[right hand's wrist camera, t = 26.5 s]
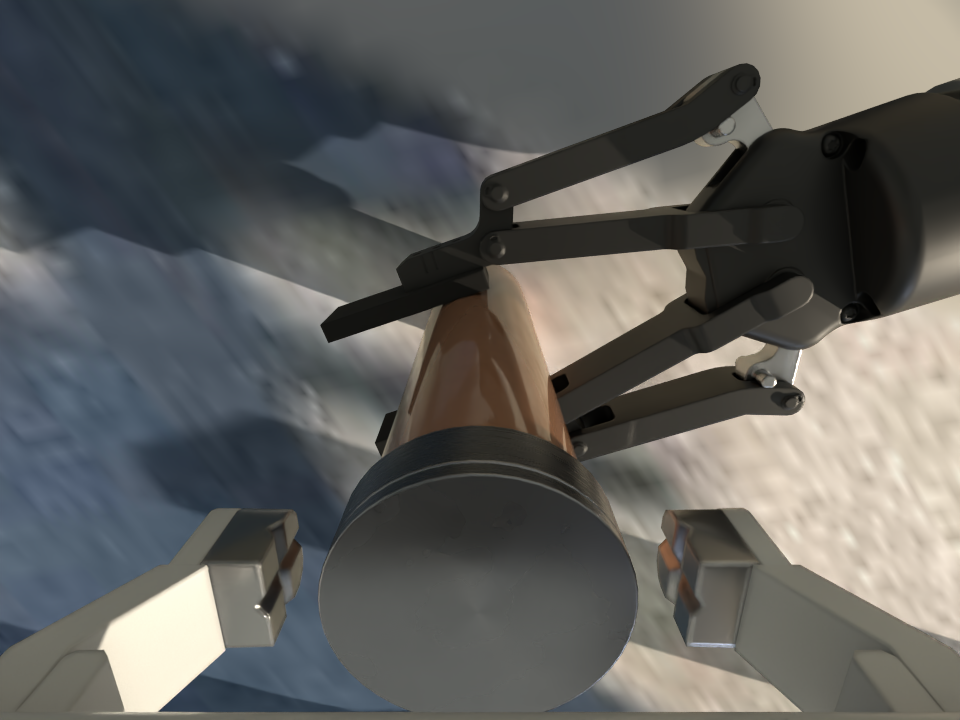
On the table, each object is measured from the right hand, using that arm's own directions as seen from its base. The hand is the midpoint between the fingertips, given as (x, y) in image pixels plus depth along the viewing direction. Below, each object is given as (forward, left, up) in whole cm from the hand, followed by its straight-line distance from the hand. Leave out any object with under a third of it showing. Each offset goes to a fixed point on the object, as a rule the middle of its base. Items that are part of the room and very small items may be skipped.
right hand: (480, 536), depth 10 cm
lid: (0, 0, +2) cm, 2 cm away
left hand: (-4, -3, -12) cm, 13 cm away
